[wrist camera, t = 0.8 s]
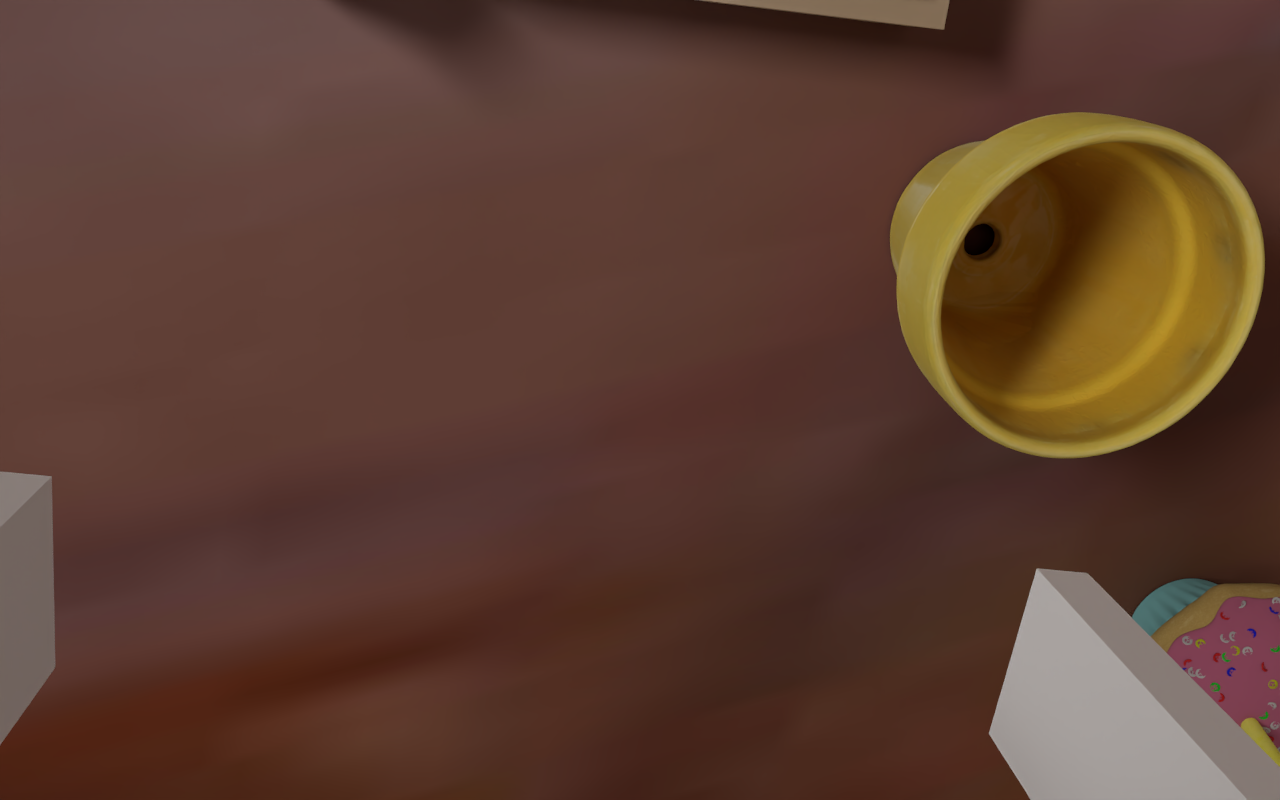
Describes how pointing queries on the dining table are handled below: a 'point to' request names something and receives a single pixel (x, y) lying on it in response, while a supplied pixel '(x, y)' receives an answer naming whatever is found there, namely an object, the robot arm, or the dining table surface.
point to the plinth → (861, 10)
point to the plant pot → (1077, 280)
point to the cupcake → (1224, 647)
